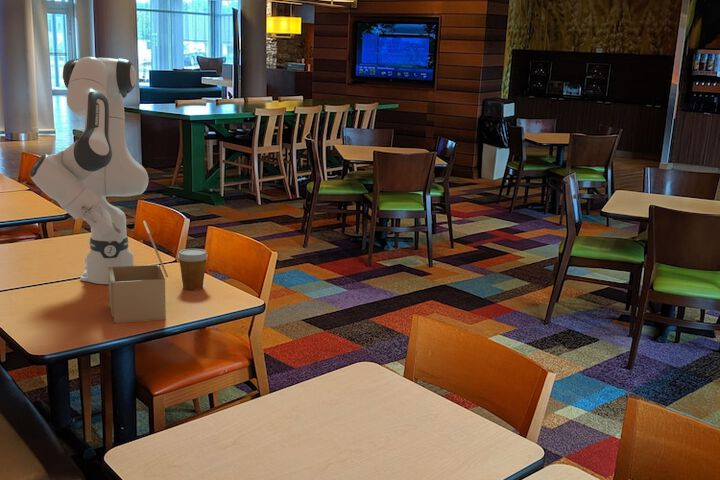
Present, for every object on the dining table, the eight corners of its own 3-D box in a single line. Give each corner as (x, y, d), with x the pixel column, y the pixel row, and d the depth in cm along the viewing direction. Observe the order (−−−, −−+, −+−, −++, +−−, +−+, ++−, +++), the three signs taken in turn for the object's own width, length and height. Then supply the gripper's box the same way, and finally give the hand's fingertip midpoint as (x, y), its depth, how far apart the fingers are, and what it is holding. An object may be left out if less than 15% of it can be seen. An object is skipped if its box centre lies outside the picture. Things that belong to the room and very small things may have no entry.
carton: (109, 305, 225) (108, 267, 222) (159, 302, 230) (158, 264, 227) (112, 323, 210) (110, 282, 207) (165, 319, 215) (165, 279, 213)
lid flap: (142, 221, 222) (144, 220, 222) (160, 263, 227) (162, 262, 227) (147, 233, 208) (150, 232, 208) (166, 277, 213) (168, 276, 213)
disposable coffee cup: (193, 281, 252) (193, 246, 250) (213, 287, 247) (213, 251, 244) (171, 287, 245) (171, 251, 242) (192, 293, 239) (191, 257, 237)
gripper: (91, 202, 198) (131, 237, 204) (90, 189, 217) (126, 221, 223) (74, 220, 198) (114, 254, 204) (74, 205, 216) (111, 236, 222)
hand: (120, 236), depth 213 cm, fingers open, 8 cm apart
